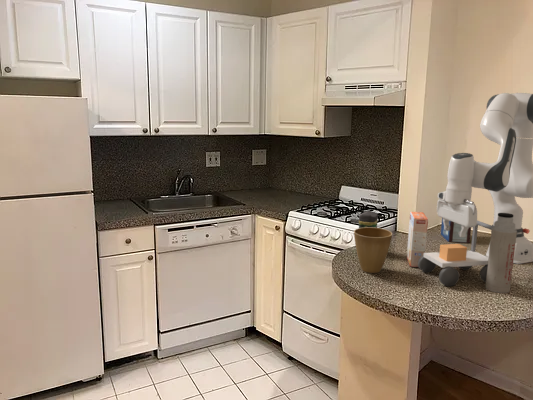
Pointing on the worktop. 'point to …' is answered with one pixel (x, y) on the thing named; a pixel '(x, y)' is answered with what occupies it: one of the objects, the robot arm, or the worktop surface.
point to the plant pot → (372, 247)
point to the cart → (450, 274)
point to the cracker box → (416, 237)
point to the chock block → (453, 252)
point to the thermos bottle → (501, 254)
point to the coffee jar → (368, 219)
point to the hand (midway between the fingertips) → (454, 233)
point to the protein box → (455, 233)
